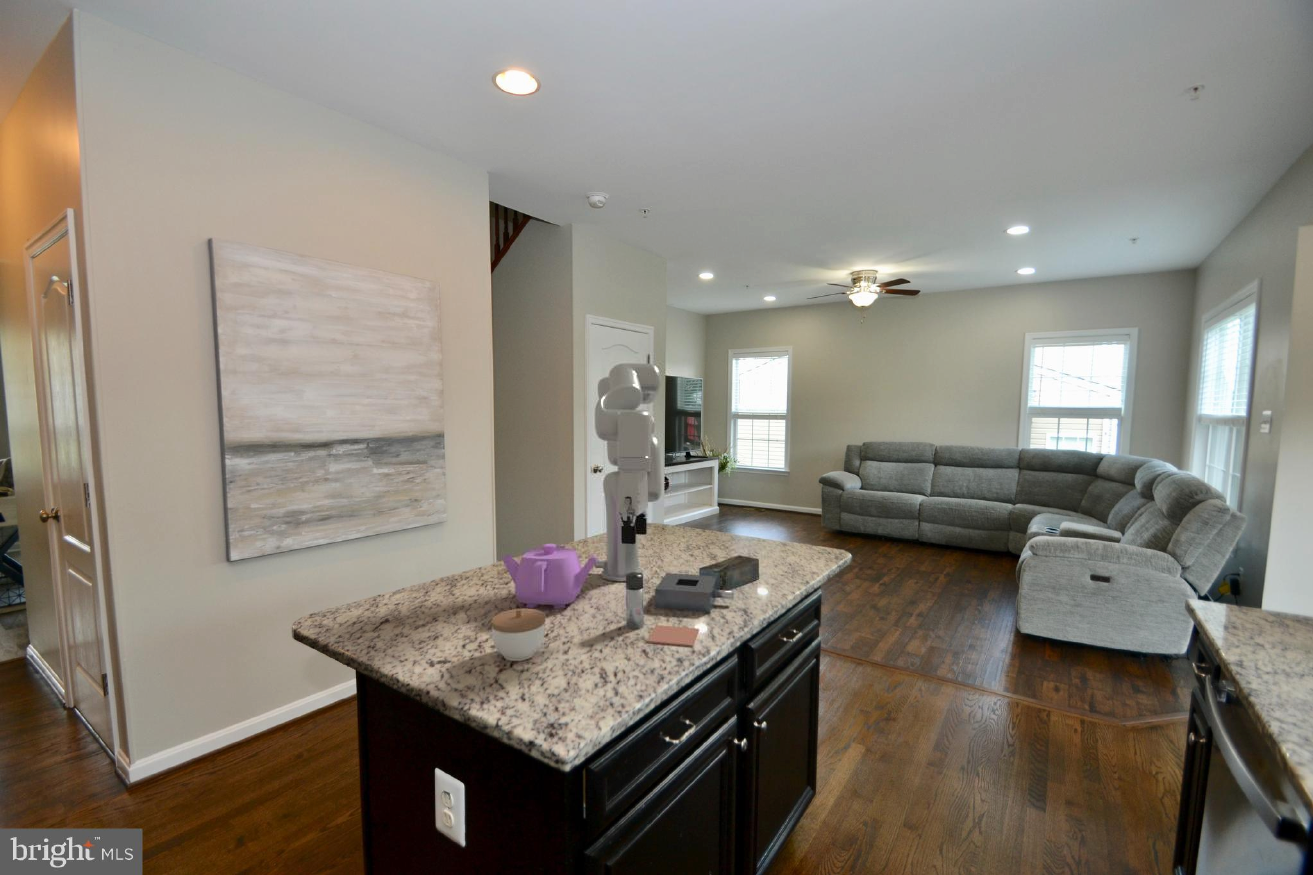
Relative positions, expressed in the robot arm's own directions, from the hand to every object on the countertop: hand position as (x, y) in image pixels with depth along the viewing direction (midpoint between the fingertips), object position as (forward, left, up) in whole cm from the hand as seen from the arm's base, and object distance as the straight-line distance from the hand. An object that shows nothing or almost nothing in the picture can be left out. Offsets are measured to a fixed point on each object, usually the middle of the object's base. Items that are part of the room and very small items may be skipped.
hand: (634, 538), depth 130 cm
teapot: (-26, +11, -21) cm, 35 cm away
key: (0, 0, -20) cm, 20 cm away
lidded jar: (-19, -20, -21) cm, 34 cm away
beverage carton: (+18, +37, -21) cm, 46 cm away
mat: (+10, -4, -20) cm, 23 cm away
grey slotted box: (+11, +19, -20) cm, 30 cm away
